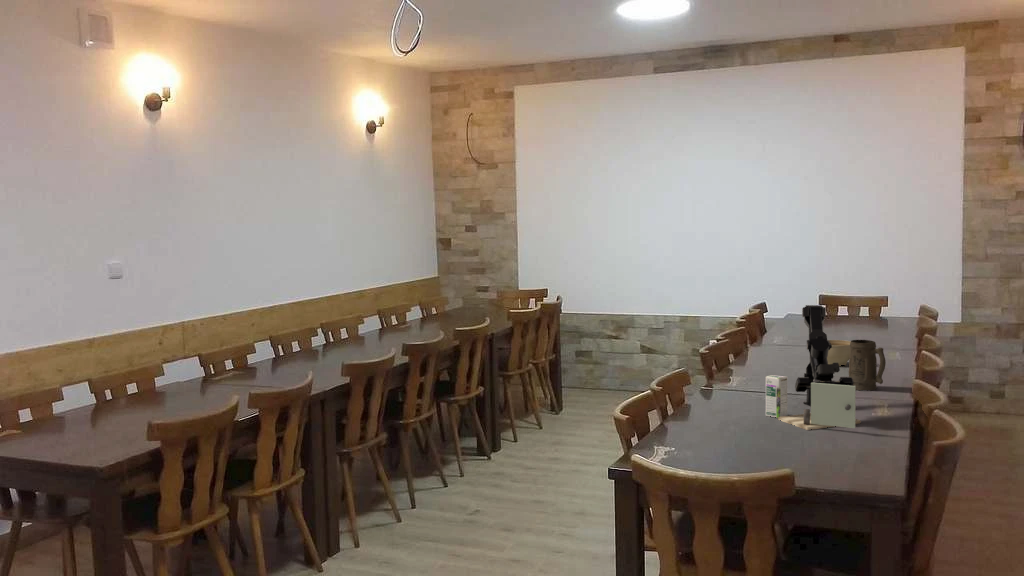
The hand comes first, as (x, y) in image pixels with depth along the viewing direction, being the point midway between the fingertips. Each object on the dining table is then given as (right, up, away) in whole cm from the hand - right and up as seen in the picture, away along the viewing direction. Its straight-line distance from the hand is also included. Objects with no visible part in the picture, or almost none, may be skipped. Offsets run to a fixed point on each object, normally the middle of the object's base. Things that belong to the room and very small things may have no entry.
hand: (828, 405), depth 287 cm
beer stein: (+37, -1, +55) cm, 67 cm away
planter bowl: (+45, +3, +111) cm, 120 cm away
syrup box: (-13, -6, +15) cm, 21 cm away
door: (-2, -6, -7) cm, 10 cm away
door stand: (-1, -6, +5) cm, 8 cm away
